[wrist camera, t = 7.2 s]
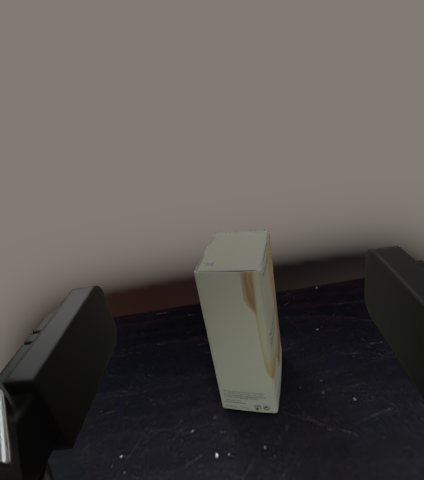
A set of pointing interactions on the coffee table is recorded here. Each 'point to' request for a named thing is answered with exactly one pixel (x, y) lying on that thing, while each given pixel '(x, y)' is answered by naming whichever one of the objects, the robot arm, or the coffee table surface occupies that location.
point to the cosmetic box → (242, 319)
